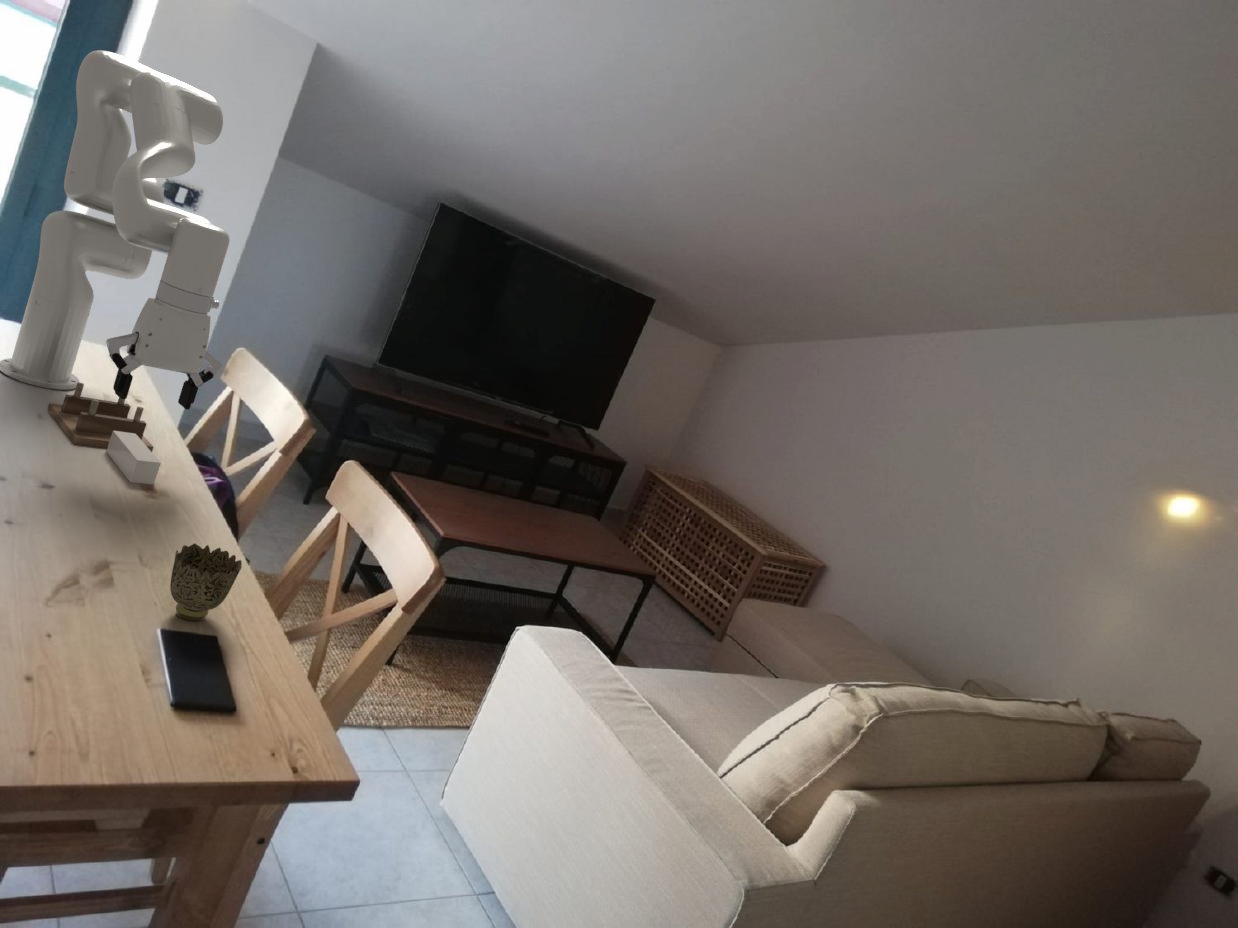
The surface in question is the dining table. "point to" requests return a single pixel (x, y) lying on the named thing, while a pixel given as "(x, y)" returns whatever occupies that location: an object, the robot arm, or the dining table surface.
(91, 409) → the walnut rack
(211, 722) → the dining table surface
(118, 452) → the white rectangular block
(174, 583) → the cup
